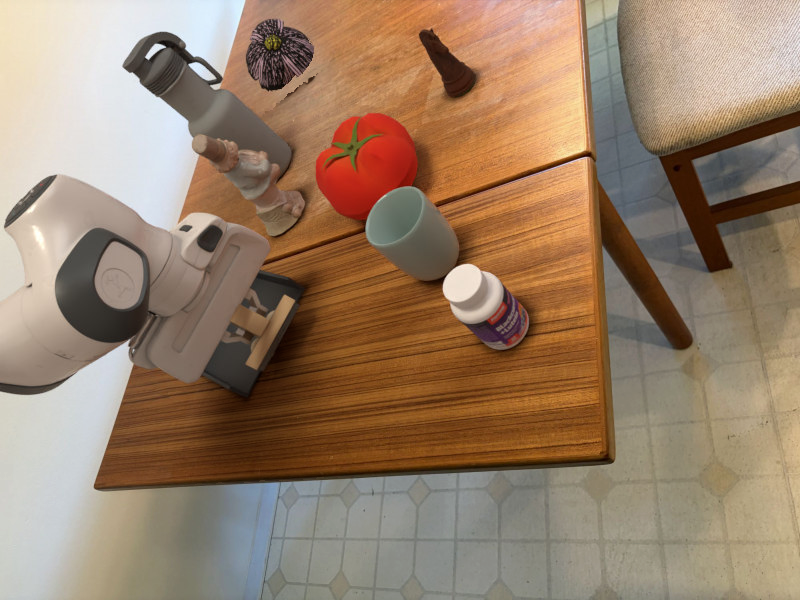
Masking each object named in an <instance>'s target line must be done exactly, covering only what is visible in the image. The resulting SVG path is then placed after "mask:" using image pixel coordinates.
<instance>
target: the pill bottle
mask: <svg viewBox="0 0 800 600" xmlns="http://www.w3.org/2000/svg"><path fill="white" fill-rule="evenodd" d="M442 292H443V295H444V297H445V298H446V299H447V300H448V302H449V304H450V305H449V306H450V309H451V312H452V314H453V315H454V316H455V318H456V319H457V320H458V321H459V322H460V323H461V324H463V325H464V326H465V327H466V328H467V329H468V330H469V331H471V333H473V334H474V336H476V337H477V338H478V339H479V340H480V341H481V342H482V343H484V344H485V345H486V346H487V347H489V348H491V349H493V350H496V351H497V350H498V351H502V350H503V351H504V350H508V349H511V348H514V347H516V346H517V345H518V344H519V343H521V341H522V340H523V339H524V338H525V336H526V334H527V333H528V330H529V325H530V317H529V314H528V312H527V310H526V309H525V307H524V306H523V305H522V304H521V303H520V302H519V301H518V299H517V298H516V297H515V296H514V295H513V294H512V292H510V291H509V289H508V288H507V287H506V285H505V284H504V283H503V282H502V281H501V279H499V278H498V277H497V276H496V274H495V275H494V274H493V273H491V272H489V271H486V270H485V271H484V270H481V269H480V268H479V267H478V266H476V265H475V264H471V263H463V264H460V265H458V266H455V267H454V268H453V269H452V270H451V271H450V272H449V273H448V274H447V275H446V277H445V278H444V280H443V283H442Z"/></svg>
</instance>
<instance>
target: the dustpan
mask: <svg viewBox="0 0 800 600" xmlns="http://www.w3.org/2000/svg"><path fill="white" fill-rule="evenodd" d="M250 288H251V289H252V290H254V291H255V292H256V295H257V297H258V299H259V301H260V305H262V306H264V307H265V308H267V309H268V311H267V313H266V315H265V318H266V317H267V315H268V314H269V313H270V312H272V311H274V310H275V309H276V308H277V306H278V304H279V302H280V300H281V299H282V297H283V296H284V295H286V296H288V297H290V298H292V299H294V300H295V302H296V303H297V304H299V301H300V300H301V299H300V298H301V297H302V295H303V293H304V292H305V289H306V287H304V286H303V285H301V284H300V283H298V282H297V281H295V280H294V279H293V278H292V277H290V276H285V275H282V274H279V273H274V272H270V271H266V270H261V269H260V270H259V272H258V274H257V276H256V278H255V279H254V281H253V283H252V285H251V287H250ZM241 305H242V306H244V307H246V308H248V309H249V308H250V305H249V303H248V301H247V299H243V301H242V303H241ZM237 329H238V327H236V326H234V325H232V324H229V326H228V328H227V330H226V331H228V332H230V333H236V331H237ZM255 339H257V337H255V336H254V337H253V339H252V341H251V343H250V344H249V345H248V344H245V343H243V342H241V341H238V342H231V343H225V342H223V341H221V340H220V342H219V344H218V346H217V348H216V349H215V351H214V353H213V355H212V357H211V358H210V360H209V362H208V364H207V366H206V367H205V369H204V371H203V373H202V375H201V376H202V377H205V378H207V379H208V380H210V381H212V382H214V383H216V384H217V385H220V386H221V387H223V388H225V389H227V390H228V391H231V392H233V393H235V394H237V395H240V396H242V397H245V398H246V399H247V398H249V395H250V394H251V391H252V389H253V388H254V386H255V385H256V382H257V380H258V378H259V377H260V375H261V373H262V371H261V370H259V369H257V370H256V369H254V368H252V367H250V366H248V365H246V364H245V363H246V361H247V359H248V358H249V356H250V354H251V345H252V343H253V341H254V340H255Z"/></svg>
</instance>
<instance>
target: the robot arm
mask: <svg viewBox="0 0 800 600" xmlns="http://www.w3.org/2000/svg"><path fill="white" fill-rule="evenodd" d="M4 221H5V222H4V224H3V229H4V230H3V231H4V232H6V234H7V235H9V236H10V237H11V238H12V239H13V241H14V243H15V245H16V247H17V249H18V252H19V254H20V256H21V257H20V258H21V260H22V264H23V270H24V284H23V285H22V286H21V287H19V288H18V289H17V290H15V291H14V292H13V293H11V294H10V295H8V296H6V298H4V299H2V300H1V301H0V392H1V393H4V394H11V395H17V396H34V395H35V396H36V395H41V394H45V393H49V392H51V391H53V390H56V388H58V387H60V386H61V385H63V384H64V383H65V382H67V381H68V380H70V379H71V378H72V377H73V376H74V375H76V374H77V373H78V372H80V371H81V370H82V369H84V368H86V367H88V366H89V365H91V364H93V363H94V362H96V361H98V360H100V359H101V358H103V357H105V356H106V355H108V354H109V353H111V352H113V351H114V350H116V349H117V348H119V347H121V346H123V345H125V344H126V343H127V342H128V343H127V347H128V358H129V360H130V362H131V363H132V364H133V365H135V366H137V367H140V368H143V369H145V370H155V369H157V368H158V369H160V370H161V371H163V372H164V373H166V374H168V375H169V376H171V377H173V378H175V379H177V380H179V381H180V382H182V383H185V384H192V383H196V382H198V381H199V380H200V378H201V376H203V375H202V373H203V371H204V369H205V367H206V366H207V364H208V362H209V360H210V358H211V357H212V355H213V353H214V351H215V349H216V348H217V346H218V344H219V342H220V340H221V341H223V342H225V343H231V342H238V341H241V342H243V343H245V344H248V345H249V344H250V343H251V341H252V339H253V337H254V335H253V334H251V333H249V332H247V331H246V330H243V329H241V328H238V329H237V331H236V333H230V332H228V331H226V330H227V328H228V326H229V324H230V319H231V317H232V315H233V314H234V312H235V310H236V308H237V306H238V305H239V304H240V305H241V303H242V301H243V299H247V301H248V303H249V305H250V308H249V309H250V310H252V311H253V312H255V313H257V314H259V315H261V316H263V317H265V315H266V313H267V311H268V309H267V308H265V307H264V306H262V305H260V301H259V299H258V297H257V295H256V292H255V291H254V290H252V289H251V288H250V287H251V285H252V283H253V281H254V279H255V278H256V276H257V274H258V272H259V270H261V269H262V267H263V265H264V263H265V262H266V259H267V258H268V256H269V255H270V253H271V250H272V249H271V244H270V241H269V240H268V239H267V238H266V237H264V236H263V235H262V234H260V233H258V232H256V231H254V230H253V229H252V228H249V227H247V226H244V225H242V224H239V223H234V222H229V221H225V220H224V219H223V218H222V217H220V216H218V215H216V214H212V213H209V212H191V213H188V215H186V216H185V217H184V218H183V219H182V220H181V221H179V222H178V223H177V224H176V225H175V226H173V228H171V229H170V230H169V231H168V230H167V229H165V228H162V227H160V226H156V225H153V224H151V223H150V222H147V221H146V220H145V219H144V218H143V217H142V216H141V215H140V214H139V212H137V211H136V210H135V209H133V208H132V207H130V206H129V205H127V204H126V203H124V202H122V201H120V200H119V199H117V197H116V198H115V197H114V196H112V195H111V194H109V193H107V192H105V191H104V190H101V189H100V188H98V187H97V186H94V185H92V184H90V183H88V182H85V181H83V180H81V179H78V178H76V177H73V176H70V175H67V174H60V173H57V174H53V175H48V176H46V177H45V178H43V179H41V180H40V181H39V182H38V183H36V185H34V186H33V187H32V188H31V189H30V190H28V191H27V193H26V194H25V195H24V196H23V197H22V198H20V200H18V201H17V202H16V204H15V205H13V207H12V208H11V210H10V211H9V212H8V214H7V215H6V218H5V220H4Z"/></svg>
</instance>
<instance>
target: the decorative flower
mask: <svg viewBox="0 0 800 600" xmlns="http://www.w3.org/2000/svg"><path fill="white" fill-rule="evenodd" d="M284 22H285V21H284V20H283V19H281V18H268V19H264V20H263V21H261V22H259V23H258V24H257V25H256V26H255V27H254V28H253V29H252V31H251V34H250V37H249V40H250V41H251V42H250V44H248V47H247V49H246V52H245V64H246V67H247V72H248V74H249V76H250V77H251V79H253V81H255V82H256V81H258V82H259V86H260V88H261V90H266V91H267V92H273V91H279V90H280V89H282V88H283V87H284V86H285V85H286V84H288V83H289V82H290V81H291V80H292V78H293V77H294V76H295V75H296V78H298V77H299V76H300V75H301V74H303V72H304V71H305V70H306V68H307V67H308V66H309V64H310V62H311V61H312V58H313V54H314V47H315V45H313V43H312V42H311V43H312V44H311V43H309V40H310V39H309V37H308V36H307V35H306V34H305V33H303V32H302V31H300V30H298V28H297V29H296V28H294V27H290V26H285V23H284ZM308 39H309V40H308Z"/></svg>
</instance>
